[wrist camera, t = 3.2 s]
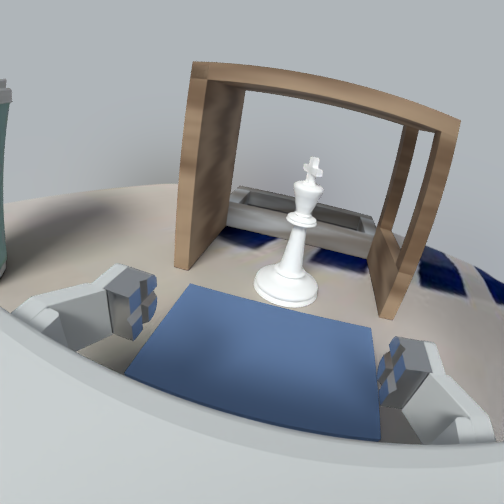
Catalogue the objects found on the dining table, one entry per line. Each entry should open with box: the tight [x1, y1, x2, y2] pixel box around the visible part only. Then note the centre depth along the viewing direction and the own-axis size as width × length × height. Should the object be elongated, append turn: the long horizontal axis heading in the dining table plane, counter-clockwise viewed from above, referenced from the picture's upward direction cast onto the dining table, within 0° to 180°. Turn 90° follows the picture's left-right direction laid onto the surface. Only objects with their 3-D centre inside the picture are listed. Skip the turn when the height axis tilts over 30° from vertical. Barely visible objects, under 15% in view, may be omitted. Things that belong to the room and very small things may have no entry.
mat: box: [124, 284, 381, 442], centre depth 17 cm, size 9×13×1 cm
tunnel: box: [174, 62, 461, 320], centre depth 27 cm, size 19×17×15 cm
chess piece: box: [254, 157, 324, 308], centre depth 21 cm, size 5×5×10 cm
